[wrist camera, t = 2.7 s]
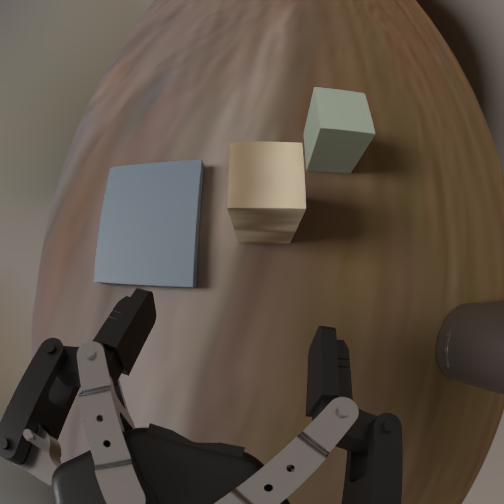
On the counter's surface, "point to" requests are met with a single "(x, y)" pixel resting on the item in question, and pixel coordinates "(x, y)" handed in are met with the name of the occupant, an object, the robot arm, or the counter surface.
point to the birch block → (266, 190)
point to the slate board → (151, 225)
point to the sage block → (337, 130)
